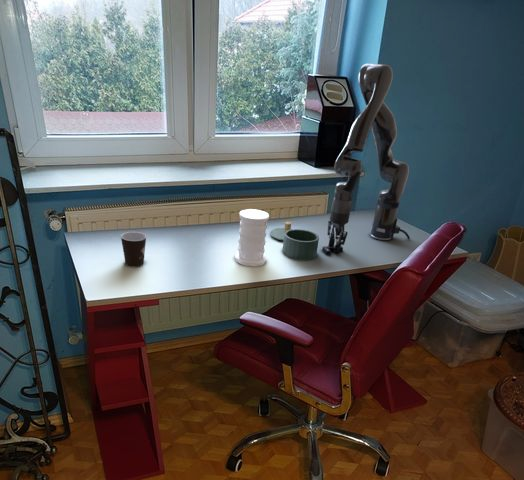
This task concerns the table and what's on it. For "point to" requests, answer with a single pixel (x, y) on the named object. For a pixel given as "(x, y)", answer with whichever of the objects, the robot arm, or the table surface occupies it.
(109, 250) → the table surface
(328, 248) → the hex key
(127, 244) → the coffee mug
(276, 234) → the tin lid
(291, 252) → the tin
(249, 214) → the decorative container
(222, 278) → the table surface
